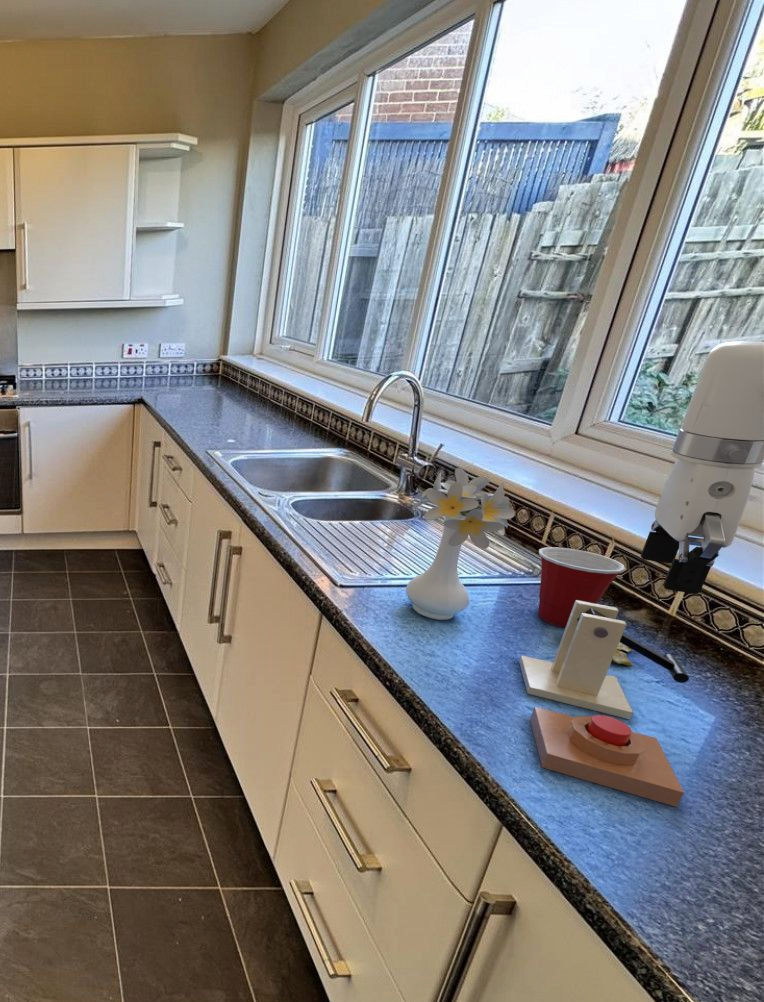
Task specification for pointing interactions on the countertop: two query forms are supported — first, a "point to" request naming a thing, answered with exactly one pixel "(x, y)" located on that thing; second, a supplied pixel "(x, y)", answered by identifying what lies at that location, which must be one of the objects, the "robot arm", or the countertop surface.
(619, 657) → the fruit
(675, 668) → the black t-handle lever
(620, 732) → the red button
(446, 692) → the countertop surface
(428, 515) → the flower vase
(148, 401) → the countertop surface
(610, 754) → the control block
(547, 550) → the plastic cup
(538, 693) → the lever bracket
